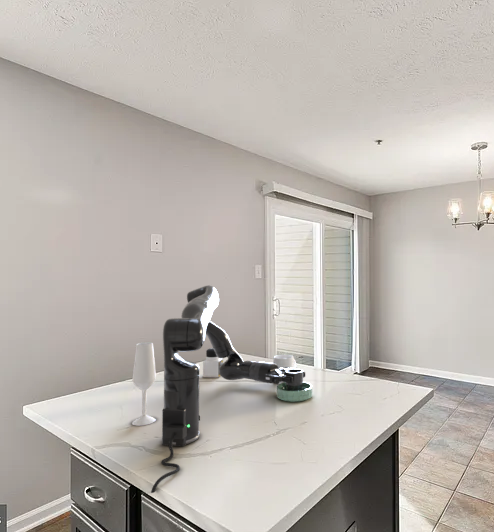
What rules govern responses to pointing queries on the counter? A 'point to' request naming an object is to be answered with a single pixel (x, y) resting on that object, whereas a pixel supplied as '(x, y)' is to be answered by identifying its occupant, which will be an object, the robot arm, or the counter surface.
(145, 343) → the champagne flute
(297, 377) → the cup
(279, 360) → the mug
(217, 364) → the medicine bottle
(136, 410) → the counter surface
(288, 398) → the bowl
